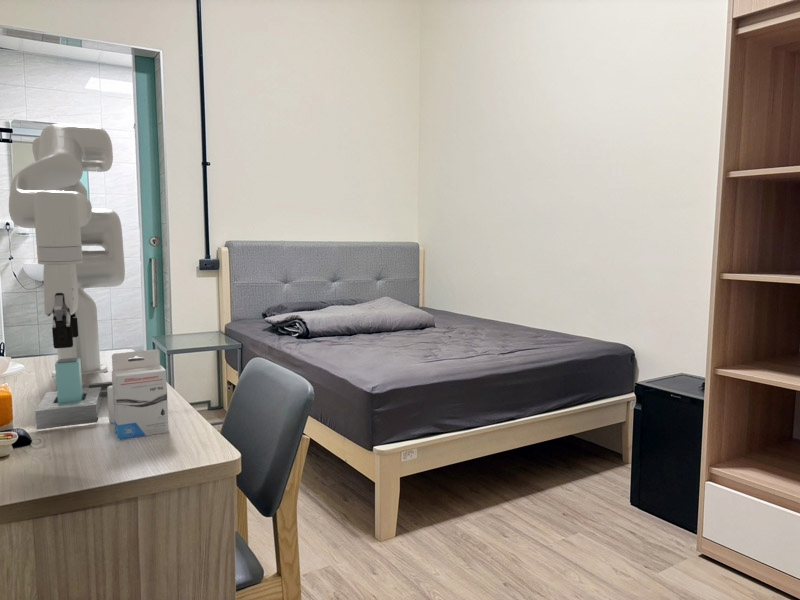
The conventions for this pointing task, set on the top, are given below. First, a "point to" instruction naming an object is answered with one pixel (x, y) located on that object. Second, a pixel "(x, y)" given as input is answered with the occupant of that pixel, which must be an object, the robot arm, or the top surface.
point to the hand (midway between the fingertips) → (66, 342)
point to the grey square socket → (102, 385)
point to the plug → (69, 380)
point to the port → (68, 410)
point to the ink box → (139, 395)
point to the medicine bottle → (110, 396)
